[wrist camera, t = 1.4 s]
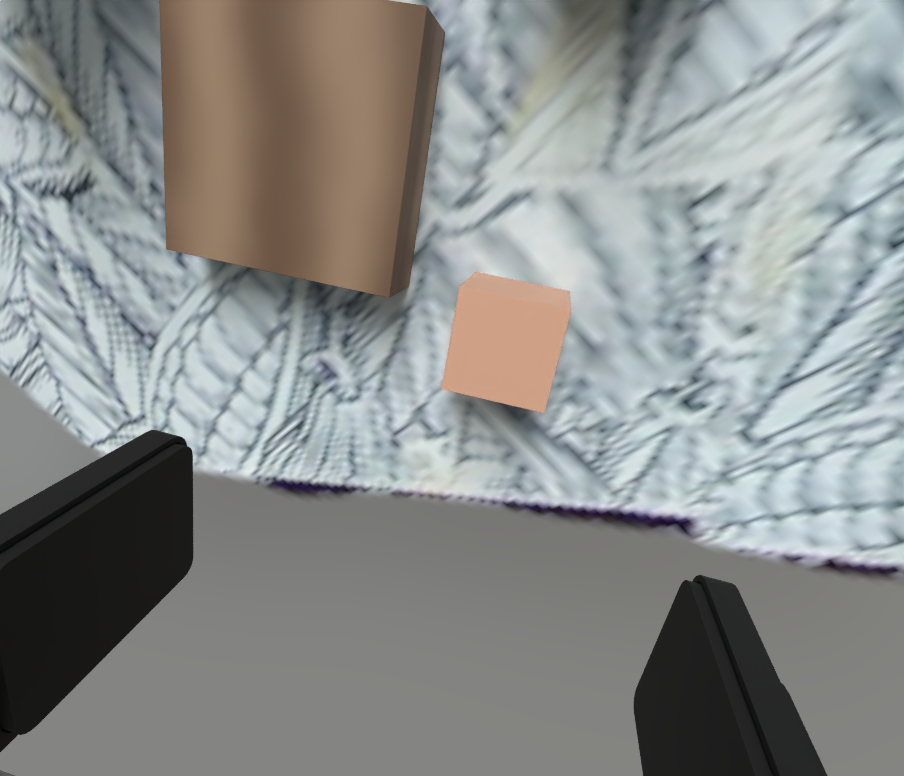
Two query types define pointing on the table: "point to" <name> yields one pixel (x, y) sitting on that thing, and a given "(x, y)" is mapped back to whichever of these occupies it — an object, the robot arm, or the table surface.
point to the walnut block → (299, 134)
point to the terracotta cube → (506, 340)
